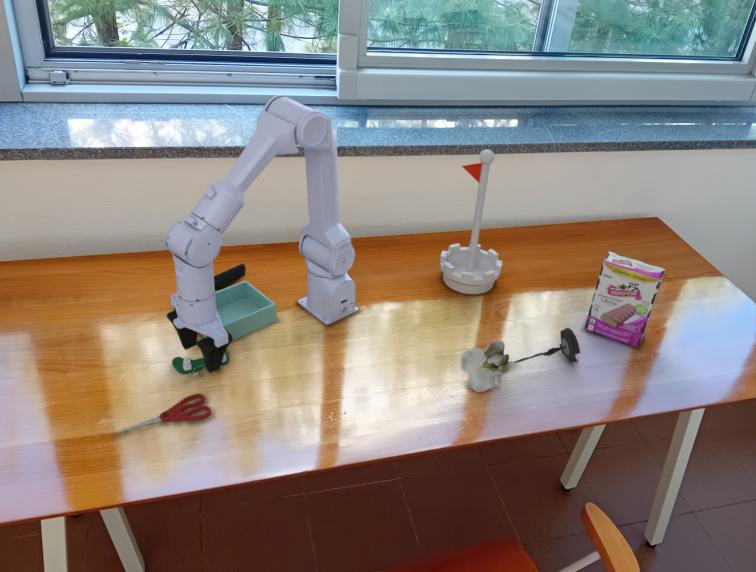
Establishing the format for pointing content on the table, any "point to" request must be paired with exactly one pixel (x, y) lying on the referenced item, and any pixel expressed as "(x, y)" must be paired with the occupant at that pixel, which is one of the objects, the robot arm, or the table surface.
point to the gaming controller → (194, 364)
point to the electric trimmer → (229, 277)
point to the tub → (243, 309)
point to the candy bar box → (624, 299)
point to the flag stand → (472, 245)
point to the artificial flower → (506, 361)
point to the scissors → (179, 412)
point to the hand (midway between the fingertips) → (201, 358)
